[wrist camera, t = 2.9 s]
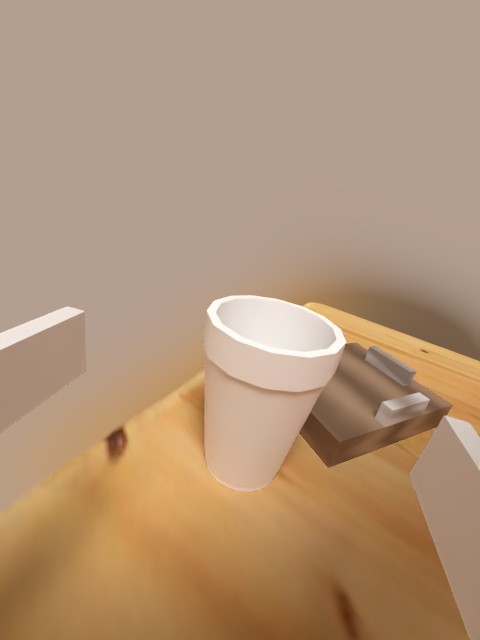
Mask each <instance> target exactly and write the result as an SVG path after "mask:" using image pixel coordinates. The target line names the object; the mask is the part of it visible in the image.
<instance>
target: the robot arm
mask: <svg viewBox="0 0 480 640" xmlns="http://www.w3.org/2000/svg"><path fill="white" fill-rule="evenodd" d="M85 362H86V361H85V311H82V310H78V309H75V308H72V307H68V306H67V307H64V308H62V309H59V310H57V311H54V312H52V313H49V314H47V315H45V316H42V317H39V318H37V319H34V320H32V321H29V322H27V323H24V324H22V325H19V326H17V327H14V328H12V329H10V330H7V331H5V332H2V333H0V433H1V432H3V431H4V430H5V429H7V428H8V427H10V426H11V425H12V424H14V423H15V422H17V421H18V420H19V419H21V418H22V417H23V416H25V415H26V414H28V413H29V412H30V411H32V410H33V409H34V408H35V407H37V406H39V405H40V404H41V403H43V402H44V401H46V400H47V399H48V398H50V397H51V396H52V395H54V394H55V393H57V392H58V391H59V390H60V389H62V388H63V387H65V386H66V385H68V384H69V383H70V382H72V381H73V380H74V379H76V378H77V377H79V376H80V375H81V374H83V373H84V372H85V371H86V369H85V368H86V363H85ZM409 477H410V479H411V482H412V485H413V487H414V490H415V493H416V496H417V498H418V501H419V504H420V506H421V509H422V512H423V515H424V517H425V520H426V523H427V525H428V528H429V531H430V534H431V536H432V539H433V542H434V544H435V547H436V550H437V553H438V555H439V558H440V561H441V563H442V566H443V569H444V572H445V574H446V577H447V580H448V582H449V585H450V588H451V591H452V593H453V596H454V599H455V601H456V604H457V607H458V610H459V612H460V615H461V618H462V620H463V623H464V626H465V629H466V631H467V634H468V637H469V639H470V640H480V437H479V435H478V434H477V433H476V431H475V430H474V429H473V427H472V426H471V425H470V423H469V422H465V421H462V420H458V419H455V418H452V417H448V416H445V415H444V416H443V418H442V420H441V421H440V423H439V425H438V426H437V428H436V430H435V431H434V433H433V435H432V436H431V438H430V440H429V442H428V443H427V445H426V447H425V448H424V450H423V452H422V453H421V455H420V457H419V458H418V460H417V462H416V463H415V465H414V467H413V468H412V470H411V472H410V474H409Z"/></svg>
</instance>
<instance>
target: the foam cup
mask: <svg viewBox="0 0 480 640" xmlns="http://www.w3.org/2000/svg"><path fill="white" fill-rule="evenodd" d="M202 342H203V346H204V348H205V409H204V450H205V454H204V455H205V460H206V464H207V468H208V470H209V471H210V473H211V474H212V475H213V476H214V477H215V479H216V480H217V481H218V482H219V483H221V484H223V485H225V486H227V487H229V488H231V489H233V490H235V491H247V492H254V491H257V490H259V489H261V488H264V487H266V486H268V485H269V484H270V483H271V481H272V480H273V478H274V477H275V475H276V474H277V472H278V470H279V469H280V467H281V465H282V463H283V462H284V460H285V458H286V456H287V454H288V452H289V451H290V449H291V447H292V445H293V443H294V441H295V439H296V438H297V436H298V434H299V432H300V430H301V428H302V427H303V425H304V423H305V421H306V419H307V417H308V416H309V414H310V412H311V410H312V408H313V406H314V405H315V403H316V401H317V399H318V397H319V395H320V393H321V392H322V390H323V388H324V386H325V385H326V384H327V383H328V381H329V380H330V379H331V378H332V376H333V375H334V374H335V372H336V369H337V367H338V364H339V361H340V358H341V356H342V353H343V350H344V347H345V345H346V341H345V338H344V336H343V333H342V331H341V329H340V328H338V327H337V326H336V325H335V324H333V323H332V322H331V321H329V320H328V319H327V318H326V317H324V316H322V315H320V314H318V313H315V312H313V311H311V310H309V309H307V308H305V307H303V306H299V305H296V304H292V303H289V302H286V301H282V300H279V299H273V298H266V297H260V296H229V297H225V298H222V299H219V300H215V301H213V303H212V304H211V306H210V307H209V308H208V310H207V312H206V318H205V325H204V332H203V340H202Z"/></svg>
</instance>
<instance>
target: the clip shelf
mask: <svg viewBox="0 0 480 640" xmlns="http://www.w3.org/2000/svg"><path fill="white" fill-rule="evenodd" d="M415 373H416V371H415V370H414V369H412V368H410V367H409V366H407V365H406V364H404V363H402V362H401V361H399V360H397V359H396V358H394V357H393V356H391V355H389V354H388V353H386V352H384V351H383V350H381V349H380V348H378V347H376V346H372V347H370V348H369V350H367V349H365V348H364V347H362V346H360V345H359V344H357V343H350V344H346V345H345V347H344V350H343V353H342V356H341V358H340V361H339V364H338V367H337V369H336V372H335V374H334V375H333V376H332V378H331V379H330V380H329V381H328V383H327V384H326V385H325V386H324V388H323V390H322V392H321V393H320V395H319V397H318V399H317V401H316V403H315V405H314V406H313V408H312V410H311V412H310V414H309V416H308V417H307V419H306V421H305V423H304V425H303V427H302V428H301V430H300V432H299V433H300V434H301V435H302V436H303V437H304V439H305V440H306V441H307V442H308V443H309V445H310V446H311V447H312V448H313V449H314V451H315V452H316V453H317V454H318V455H319V457H320V458H321V459H322V460H323V461H324V463H325V464H326V465H327V466H328V467H331V466H334V465H336V464H339V463H342V462H344V461H347V460H350V459H352V458H355V457H358V456H360V455H363V454H366V453H368V452H371V451H374V450H376V449H379V448H382V447H384V446H387V445H390V444H392V443H395V442H398V441H400V440H403V439H406V438H408V437H411V436H414V435H416V434H419V433H422V432H424V431H427V430H430V429H432V428H435V427H437V426H438V425H439V423H440V421H441V420H442V418H443V416H444V415H445V416H447V414H448V412H449V410H450V409H451V407H452V404H450V403H449V402H447V401H446V400H444V399H442V398H441V397H439V396H438V395H436V394H435V393H433V392H432V391H430V390H429V389H427V388H425V387H424V386H422V385H421V384H419V383H418V382H416V381H415V380H413V377H414V375H415Z"/></svg>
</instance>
